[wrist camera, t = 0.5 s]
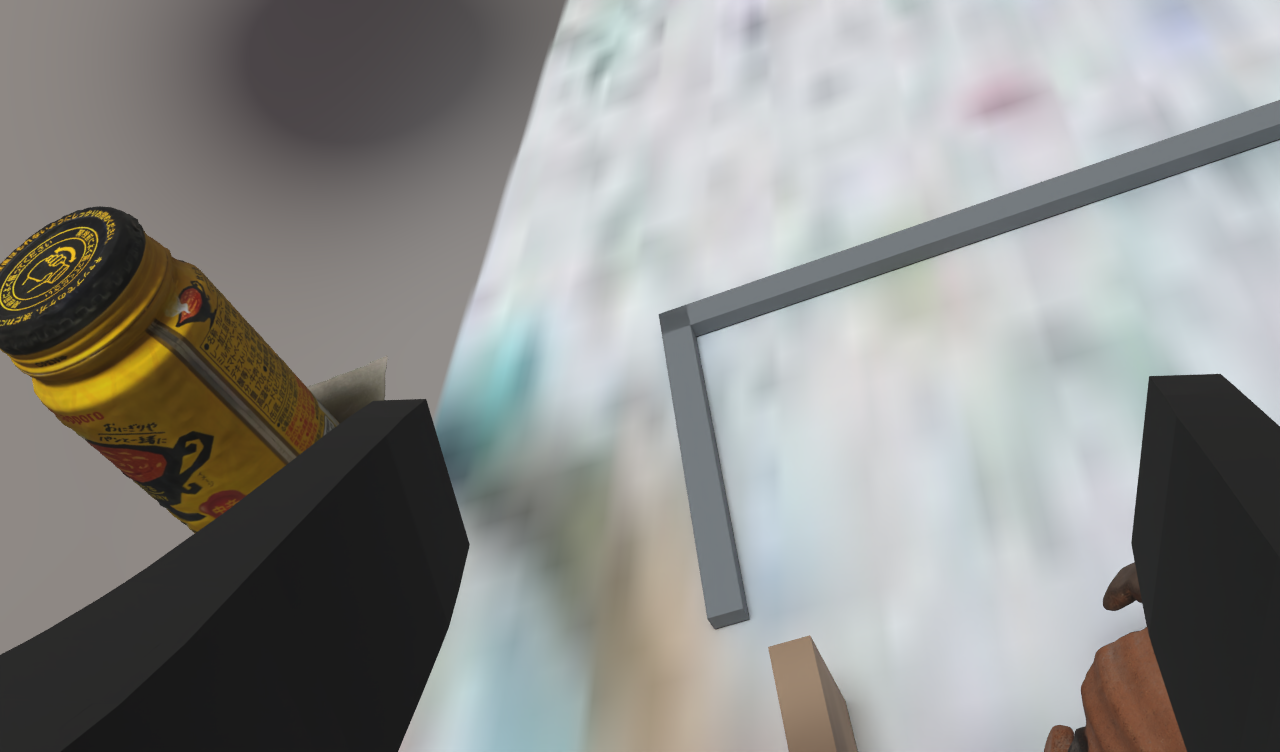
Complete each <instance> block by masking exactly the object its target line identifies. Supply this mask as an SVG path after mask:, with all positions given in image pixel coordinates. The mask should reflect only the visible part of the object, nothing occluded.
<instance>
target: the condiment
mask: <svg viewBox="0 0 1280 752" xmlns="http://www.w3.org/2000/svg"><path fill="white" fill-rule="evenodd" d="M0 350H1V351H2V352H4V353H6V354H7V355H8V356H9V357H10V358H11V360H12V362H13V363H14V364H15V366H16V367H17V368H19V369H20V370H21V371H22V372H23V373H25V374H27V375H29V376H30V377H32V381H33V385H34V392H35V393H36V395H37V396H38V397H39V399H40V400H41V402H42V403H43V404H44V405H45V406H46V407H47V408H48V409H49V410H50V411H52V412H53V413H54V414H55V415H56V417H57V418H58V419H59V420H60V421H61V422H62V423H63V424H64V425H65V426H67V427H69V428H71V429H73V430H74V431H75V432H76V433H77V434H78V435H79V436H81V437H82V438H83V439H85V440H86V441H87V442H88V443H89V444H90V445H91V446H93V447H94V448H95V449H97V450H98V451H99V452H100V453H101V454H102V455H104V456H105V457H106V458H107V459H108V460H109V461H111V462H112V463H113V464H114V465H115V466H116V467H117V468H119V469H120V470H121V471H122V472H123V474H124V475H126V476H127V477H129V478H131V479H132V480H133V481H134V482H135V483H137V484H138V485H139V486H140V487H141V488H142V489H144V490H145V491H146V492H147V493H148V494H149V495H150V496H151V497H153V498H154V499H155V500H157V501H158V502H159V504H160V505H161V506H163V507H165V508H167V510H168V511H169V512H170V513H171V514H172V515H173V516H174V517H176V518H177V519H179V520H180V521H181V522H182V523H184V524H185V525H187V526H188V527H189V529H190V530H192V531H193V532H194V533H196V532H198V531H199V530H201V529H202V528H203V527H205V526H206V525H208V524H209V523H210V522H212V521H213V520H215V519H216V518H217V517H219V516H220V515H222V514H223V513H224V512H226V511H227V510H228V509H230V508H231V507H232V506H234V505H235V504H236V503H238V502H239V501H240V500H242V499H243V498H244V497H245V496H247V495H248V494H249V493H251V492H252V491H253V490H255V489H256V488H257V487H258V486H260V485H261V484H262V483H264V482H265V481H266V480H267V479H269V478H270V477H271V476H273V475H274V474H275V473H277V472H278V471H279V470H280V469H282V468H283V467H284V466H286V465H287V464H288V463H290V462H291V461H292V460H293V459H295V458H296V457H297V456H299V455H300V454H301V453H302V452H304V451H305V450H306V449H308V448H309V447H310V446H311V445H313V444H314V443H315V442H317V441H318V440H319V439H320V438H322V437H323V436H324V435H326V434H327V433H328V432H330V431H331V430H332V429H334V428H335V427H336V426H338V425H339V424H340V423H342V422H343V421H344V420H346V419H347V418H348V417H350V416H351V415H353V414H354V413H356V412H357V411H358V410H360V409H362V408H363V407H365V406H366V405H368V404H369V403H371V402H372V401H383V400H384V397H385V371H386V364H387V356H386V357H383V358H381V359H378V360H375V361H373V362H370V363H369V364H368V365H366V366H364V367H360V368H357V369H355V370H353V371H350V372H347V373H345V374H341V375H338V376H336V377H333V378H331V379H329V380H327V381H324V382H321V383H318V384H315V385H312V386H309V387H306V386H305V385H304V384H303V383H302V382H301V380H300V379H299V378H298V377H297V376H296V375H295V374H294V373H293V372H292V370H291V369H290V368H289V367H288V366H287V365H286V363H285V362H284V361H283V360H282V359H281V358H280V357H279V356H278V355H277V354H276V353H275V352H274V351H273V349H272V348H271V347H270V346H269V345H268V344H267V343H266V342H265V341H264V340H263V338H262V337H261V336H260V335H259V334H258V333H257V332H256V331H255V330H254V328H253V327H252V326H251V325H250V324H249V323H247V321H246V320H245V319H244V318H243V317H242V316H241V315H240V313H239V312H238V311H237V310H236V309H235V308H234V307H233V306H232V305H231V303H230V302H229V301H228V300H227V299H226V298H225V297H224V295H223V294H222V293H221V292H220V291H219V290H218V289H217V288H216V287H215V286H214V285H213V283H211V282H210V281H209V279H208V278H207V277H206V276H205V275H204V274H203V273H202V272H201V270H199V269H198V268H197V267H196V266H194V265H192V264H189V263H187V262H184V261H181V260H177V259H175V258H173V257H172V256H171V253H170V251H169V250H168V249H167V248H165V247H163V246H162V245H161V244H160V243H158V242H157V241H155V240H154V239H153V238H151V237H149V236H147V234H146V233H145V231H144V230H143V228H142V226H141V225H140V224H139V223H138V219H136V218H134V217H133V216H131V215H130V214H126V213H125V212H123V211H120V210H117V209H114V208H111V207H92V208H86V209H84V210H78V211H75V212H73V213H71V214H69V215H66V216H63V217H62V218H61V219H59V220H57V221H55V222H53V223H50V224H48V225H47V226H45V227H44V228H42V229H41V230H39V231H38V232H36V233H35V234H33V235H32V236H31V237H29V238H28V239H27V240H26V241H25V242H24V243H23V244H22V245H21V246H20V247H18V248H17V249H15V250H14V251H13V252H12V253H11V254H10V255H9V256H8V257H7V258H6V259H5V260H4V261H3V262H2V263H1V264H0Z"/></svg>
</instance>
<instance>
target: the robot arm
mask: <svg viewBox="0 0 1280 752" xmlns="http://www.w3.org/2000/svg"><path fill="white" fill-rule="evenodd" d="M469 545H470V544H469V541H468V538H467V534H466V531H465V528H464V524H463V521H462V518H461V514H460V511H459V508H458V504H457V501H456V498H455V494H454V491H453V488H452V484H451V481H450V477H449V474H448V471H447V467H446V464H445V461H444V457H443V454H442V451H441V447H440V444H439V441H438V437H437V434H436V431H435V427H434V424H433V421H432V417H431V414H430V411H429V408H428V404H427V401H426V399H417V400H416V399H415V400H387V401H386V400H383V401H372V402H371V403H369V404H368V405H366V406H365V407H363V408H362V409H360V410H358V411H357V412H356V413H354V414H353V415H351V416H350V417H348V418H347V419H346V420H344V421H343V422H342V423H340V424H339V425H338V426H336V427H335V428H334V429H332V430H331V431H330V432H328V433H327V434H326V435H324V436H323V437H322V438H320V439H319V440H318V441H317V442H315V443H314V444H313V445H311V446H310V447H309V448H308V449H306V450H305V451H304V452H302V453H301V454H300V455H299V456H297V457H296V458H295V459H293V460H292V461H291V462H290V463H288V464H287V465H286V466H284V467H283V468H282V469H280V470H279V471H278V472H277V473H275V474H274V475H273V476H271V477H270V478H269V479H267V480H266V481H265V482H264V483H262V484H261V485H260V486H258V487H257V488H256V489H255V490H253V491H252V492H251V493H249V494H248V495H247V496H245V497H244V498H243V499H242V500H240V501H239V502H238V503H236V504H235V505H234V506H232V507H231V508H230V509H228V510H227V511H226V512H224V513H223V514H222V515H220V516H219V517H217V518H216V519H215V520H213V521H212V522H210V523H209V524H208V525H206V526H205V527H203V528H202V529H201V530H199V531H198V532H196V533H195V534H194V535H192V536H191V537H189V538H188V539H187V540H185V541H184V542H182V543H181V544H180V545H178V546H177V547H175V548H174V549H173V550H171V551H170V552H168V553H167V554H166V555H164V556H163V557H161V558H160V559H159V560H157V561H156V562H154V563H153V564H152V565H150V566H149V567H147V568H146V569H144V570H143V571H141V572H140V573H138V574H137V575H135V576H134V577H132V578H131V579H129V580H128V581H126V582H125V583H123V584H122V585H120V586H118V587H117V588H116V589H114V590H112V591H111V592H109V593H107V594H106V595H104V596H103V597H101V598H100V599H98V600H96V601H95V602H93V603H91V604H90V605H88V606H86V607H85V608H83V609H82V610H80V611H78V612H76V613H74V614H73V615H71V616H69V617H68V618H66V619H64V620H63V621H61V622H59V623H58V624H56V625H54V626H53V627H51V628H50V629H48V630H46V631H44V632H42V633H41V634H39V635H37V636H35V637H33V638H32V639H30V640H28V641H26V642H24V643H22V644H20V645H18V646H17V647H15V648H13V649H11V650H9V651H7V652H5V653H3V654H1V655H0V752H398V750H399V748H400V745H401V743H402V741H403V738H404V736H405V733H406V731H407V729H408V726H409V724H410V721H411V719H412V717H413V714H414V712H415V710H416V707H417V705H418V702H419V700H420V698H421V695H422V693H423V690H424V688H425V685H426V683H427V680H428V678H429V675H430V673H431V671H432V668H433V666H434V663H435V661H436V658H437V656H438V653H439V651H440V648H441V646H442V643H443V641H444V638H445V636H446V633H447V630H448V628H449V625H450V621H451V617H452V614H453V610H454V606H455V603H456V599H457V595H458V592H459V588H460V583H461V579H462V575H463V571H464V566H465V562H466V558H467V554H468V549H469ZM1132 549H1133V555H1134V560H1135V566H1136V571H1137V577H1138V582H1139V588H1140V593H1141V599H1142V604H1143V609H1144V614H1145V619H1146V624H1147V629H1148V634H1149V638H1150V641H1151V644H1152V647H1153V650H1154V654H1155V657H1156V660H1157V663H1158V666H1159V669H1160V672H1161V675H1162V678H1163V681H1164V684H1165V687H1166V690H1167V693H1168V696H1169V699H1170V702H1171V705H1172V709H1173V712H1174V715H1175V718H1176V721H1177V723H1178V726H1179V729H1180V732H1181V735H1182V738H1183V741H1184V744H1185V747H1186V750H1187V752H1280V426H1279V425H1277V424H1276V423H1275V422H1274V421H1273V420H1272V419H1271V418H1270V417H1268V416H1267V415H1266V414H1265V413H1264V412H1263V411H1262V410H1261V409H1260V408H1258V407H1257V406H1256V405H1255V404H1254V403H1253V402H1252V401H1251V400H1250V399H1248V398H1247V397H1246V396H1245V395H1244V394H1243V393H1242V392H1241V391H1239V390H1238V389H1237V388H1236V387H1235V386H1234V385H1233V384H1231V383H1230V382H1229V381H1228V380H1227V379H1226V378H1225V377H1223V376H1222V375H1221V374H1206V375H1174V376H1149V383H1148V393H1147V402H1146V412H1145V421H1144V430H1143V440H1142V449H1141V458H1140V468H1139V477H1138V486H1137V496H1136V505H1135V515H1134V524H1133V533H1132Z"/></svg>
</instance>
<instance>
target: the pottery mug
mask: <svg viewBox="0 0 1280 752" xmlns="http://www.w3.org/2000/svg"><path fill="white" fill-rule="evenodd" d="M1135 600H1137V601H1138V602H1140V603H1142V599H1141V593H1140V588H1139V582H1138V577H1137V571H1136V566H1135V562H1134V563H1132V564H1130V565H1128V566H1126V567H1124V568H1122V569H1121V570H1120V571H1119V572H1118V574H1117V575H1116V577H1115V578H1114V579H1113V580H1112V582H1111V583H1110V585H1109V587H1108V589H1107V591H1106V593H1105V595H1104V598H1103V606H1104V608H1105V609H1106V610H1111V611H1116V610H1119V609H1122V608H1124V607H1125V606H1127V605H1129V604H1131V603H1133V602H1134V601H1135ZM1081 695H1082V702H1083V707H1084V711H1085V716H1086V726H1085V727H1082V728H1079V729H1076V731H1075V734H1074V732H1073V730H1072V729H1071V728H1070V727H1068V726H1063V725H1057V726H1054V727H1053V728H1052V729H1051V731H1050V733H1049V735H1048V738H1047V741H1046V745H1045V749H1044V752H1187V750H1186V747H1185V744H1184V741H1183V738H1182V735H1181V732H1180V729H1179V726H1178V723H1177V721H1176V718H1175V715H1174V712H1173V709H1172V705H1171V702H1170V699H1169V696H1168V693H1167V690H1166V687H1165V684H1164V681H1163V678H1162V675H1161V672H1160V669H1159V666H1158V663H1157V660H1156V657H1155V654H1154V650H1153V647H1152V644H1151V641H1150V638H1149V634H1148V629H1147V627H1146V628H1145V629H1143V630H1141V631H1136V632H1131V633H1129V634H1127V635H1125V636H1123V637H1121V638H1119V639H1118V640H1117V641H1115V642H1113V643H1110V644H1108V645H1106V646H1104V647H1102V648H1100V649H1099V650H1098V651H1097V652H1096V654H1095V658H1094V662H1093V664H1092V666H1091V667H1090V669H1089V671H1088V672H1087V674H1086V677H1085V679H1084V681H1083V683H1082V686H1081Z"/></svg>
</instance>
